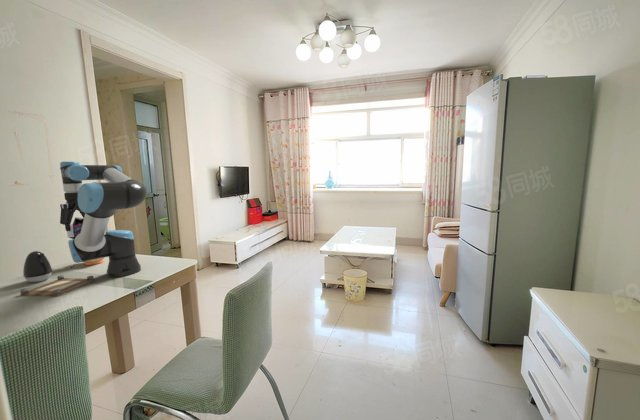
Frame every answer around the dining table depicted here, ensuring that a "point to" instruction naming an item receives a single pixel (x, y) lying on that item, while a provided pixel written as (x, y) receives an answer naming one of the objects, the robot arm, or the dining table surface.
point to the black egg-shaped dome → (36, 267)
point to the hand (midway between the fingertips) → (79, 234)
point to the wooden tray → (57, 286)
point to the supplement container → (77, 226)
